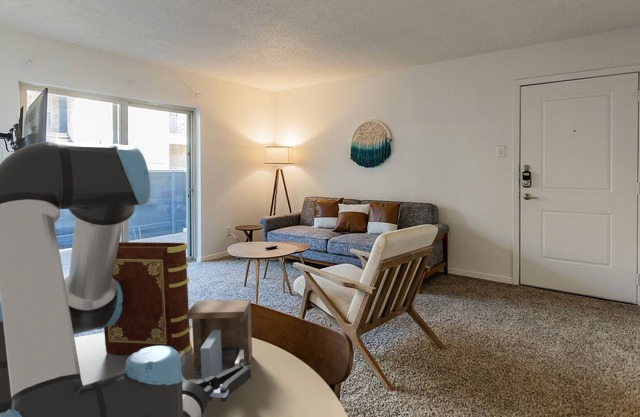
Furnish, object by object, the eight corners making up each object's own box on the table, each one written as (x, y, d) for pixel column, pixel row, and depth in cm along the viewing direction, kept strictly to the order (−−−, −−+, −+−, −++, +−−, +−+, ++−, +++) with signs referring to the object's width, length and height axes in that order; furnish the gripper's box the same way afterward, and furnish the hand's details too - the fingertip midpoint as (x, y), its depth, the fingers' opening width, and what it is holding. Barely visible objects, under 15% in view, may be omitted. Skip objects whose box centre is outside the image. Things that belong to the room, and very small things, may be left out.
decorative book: (195, 345, 109) (191, 242, 107) (182, 358, 101) (177, 247, 99) (123, 342, 112) (117, 241, 109) (105, 354, 104) (97, 246, 102)
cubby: (189, 374, 93) (186, 312, 92) (200, 357, 102) (197, 300, 100) (246, 373, 93) (244, 311, 92) (252, 355, 102) (250, 299, 101)
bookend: (193, 396, 83) (191, 348, 83) (206, 373, 93) (204, 330, 92) (220, 396, 84) (218, 347, 83) (230, 372, 94) (228, 329, 93)
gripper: (112, 434, 68) (160, 372, 89) (252, 430, 68) (266, 370, 89) (109, 393, 67) (158, 341, 88) (251, 390, 67) (266, 339, 88)
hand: (213, 355), depth 89 cm, fingers open, 13 cm apart
